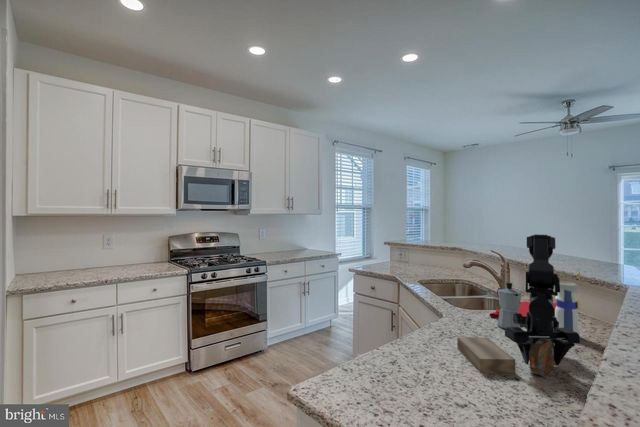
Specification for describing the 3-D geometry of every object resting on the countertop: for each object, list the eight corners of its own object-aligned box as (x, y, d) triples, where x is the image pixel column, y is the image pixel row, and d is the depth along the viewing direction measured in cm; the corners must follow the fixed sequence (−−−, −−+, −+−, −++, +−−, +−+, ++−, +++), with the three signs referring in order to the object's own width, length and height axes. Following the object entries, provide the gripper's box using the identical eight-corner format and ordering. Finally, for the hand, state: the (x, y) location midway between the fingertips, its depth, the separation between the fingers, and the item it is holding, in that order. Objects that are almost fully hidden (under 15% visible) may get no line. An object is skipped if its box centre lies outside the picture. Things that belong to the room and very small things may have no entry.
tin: (539, 380, 90) (539, 350, 90) (527, 376, 92) (526, 346, 92) (556, 364, 99) (556, 337, 99) (544, 361, 102) (544, 334, 102)
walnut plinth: (487, 349, 111) (487, 337, 111) (515, 373, 94) (515, 359, 94) (457, 348, 111) (457, 337, 111) (480, 372, 94) (480, 358, 94)
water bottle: (577, 331, 128) (576, 267, 128) (583, 338, 120) (582, 271, 121) (551, 328, 132) (551, 266, 132) (555, 334, 124) (555, 269, 124)
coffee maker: (530, 332, 127) (529, 286, 127) (507, 332, 127) (506, 286, 127) (508, 320, 142) (508, 278, 142) (488, 319, 142) (488, 278, 142)
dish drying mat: (488, 317, 148) (488, 308, 148) (532, 303, 170) (532, 296, 170) (525, 326, 135) (525, 317, 135) (567, 311, 157) (567, 303, 157)
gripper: (554, 304, 104) (555, 353, 104) (495, 303, 105) (495, 352, 104) (581, 314, 93) (582, 369, 93) (514, 313, 93) (515, 368, 93)
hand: (541, 364), depth 96 cm, fingers open, 8 cm apart
